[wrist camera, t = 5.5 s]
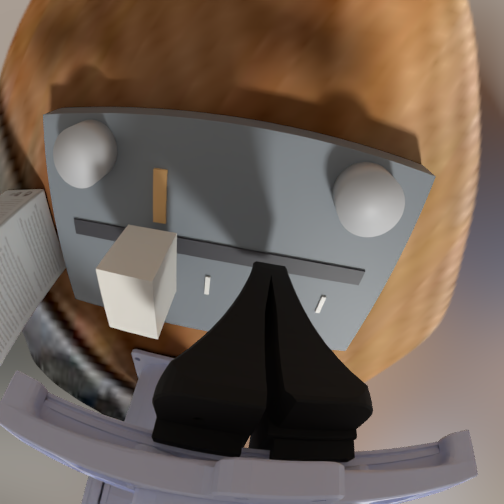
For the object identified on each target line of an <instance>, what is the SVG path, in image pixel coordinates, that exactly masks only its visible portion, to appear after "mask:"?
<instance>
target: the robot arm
mask: <svg viewBox="0 0 504 504" xmlns="http://www.w3.org/2000/svg"><path fill="white" fill-rule="evenodd" d="M131 354H132V358H133V362H134V365H135V369H136V372H137V376H138V382H137V385H136V388H135V391H134V394H133V397H132V400H131V403H130V406H129V409H128V412H127V415H126V418H125V421H124V422H123V421H120V420H117V419H114V418H111V417H108V416H105V415H102V414H100V413H97V412H94V411H91V410H89V409H86V408H84V407H81V406H79V405H76V404H74V403H71V402H69V401H67V400H64V399H62V398H60V397H58V396H55V395H53V394H51V393H49V392H48V391H47V389H46V388H45V386H44V385H43V384H42V383H40V382H39V381H38V380H36V379H34V378H32V377H30V376H28V375H26V374H24V373H22V372H20V371H18V370H16V372H15V373H14V375H13V377H12V379H11V381H10V383H9V385H8V387H7V389H6V391H5V393H4V395H3V397H2V399H1V401H0V425H1V426H2V427H4V428H5V429H6V430H7V431H9V432H10V433H11V434H13V435H14V436H15V437H17V438H18V439H19V440H21V441H22V442H24V443H25V444H27V445H29V446H30V447H32V448H34V449H36V450H38V451H40V452H41V453H43V454H45V455H47V456H49V457H50V458H52V459H54V460H56V461H58V462H60V463H62V464H64V465H66V466H68V467H71V468H72V469H75V470H77V471H79V472H81V473H83V474H86V475H88V476H89V477H88V480H87V484H86V487H85V491H84V495H83V499H82V504H398V503H403V502H407V501H411V500H415V499H418V498H422V497H425V496H429V495H432V494H436V493H439V492H442V491H444V490H447V489H449V488H452V487H454V486H456V485H459V484H461V483H463V482H466V481H468V480H470V479H472V478H474V477H476V476H477V475H478V473H477V467H476V462H475V456H474V451H473V446H472V442H471V437H470V433H469V430H464V431H460V432H455V433H452V434H449V435H447V436H445V437H443V438H442V439H440V440H439V441H438V442H433V443H427V444H421V445H415V446H408V447H402V448H393V449H383V450H372V451H358V452H354V440H355V439H356V438H357V433H356V429H357V428H358V427H359V426H361V425H362V424H363V423H364V422H365V421H366V420H367V419H368V418H369V417H370V416H371V415H372V412H373V408H372V401H371V397H370V393H369V390H368V386H367V385H366V384H365V383H364V382H362V381H361V380H360V379H359V378H358V377H357V376H356V375H354V374H353V373H352V372H351V371H350V370H349V369H348V368H347V367H346V366H345V365H344V364H343V363H342V362H341V361H340V360H339V359H338V358H337V356H336V355H335V354H334V353H333V352H332V351H331V349H330V348H329V347H328V346H327V345H326V343H325V342H324V340H323V339H322V338H321V336H320V335H319V333H318V332H317V330H316V329H315V327H314V326H313V324H312V323H311V321H310V319H309V317H308V316H307V314H306V312H305V310H304V308H303V306H302V304H301V302H300V300H299V298H298V296H297V294H296V292H295V289H294V287H293V285H292V282H291V280H290V277H289V274H288V271H287V268H286V267H285V266H281V265H275V264H270V263H264V262H258V261H256V262H254V263H253V267H252V270H251V273H250V275H249V277H248V279H247V281H246V283H245V285H244V287H243V288H242V290H241V292H240V294H239V295H238V296H237V298H236V299H235V301H234V302H233V304H232V305H231V306H230V308H229V309H228V310H227V312H226V313H225V314H224V315H223V316H222V318H221V319H220V320H219V321H218V322H217V323H216V324H215V325H214V326H213V327H212V328H211V329H210V330H209V331H208V332H207V333H206V334H205V335H204V336H203V337H202V338H201V339H199V340H198V341H197V342H196V343H195V344H193V345H192V346H191V347H190V348H189V349H187V350H186V351H184V352H183V353H182V354H180V355H179V356H177V357H176V358H171V357H167V356H162V355H158V354H154V353H150V352H146V351H142V350H139V349H133V350H132V353H131ZM250 435H251V437H250V442H249V448H243V447H244V445H245V444H246V442H247V440H248V438H249V436H250Z"/></svg>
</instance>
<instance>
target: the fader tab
mask: <svg viewBox="0 0 504 504" xmlns="http://www.w3.org/2000/svg"><path fill="white" fill-rule="evenodd" d="M176 260H177V233H173V232H168V231H162V230H156V229H151V228H145V227H139V226H134V225H128V226H127V227H126V228H125V229H124V231H123V232H122V233H121V235H120V236H119V237H118V239H117V240H116V241H115V243H114V244H113V245H112V247H111V248H110V249H109V251H108V252H107V253H106V255H105V256H104V258H103V259H102V260H101V262H100V263H99V265H98V266H97V267H96V273H97V278H98V283H99V287H100V291H101V295H102V299H103V303H104V307H105V311H106V315H107V319H108V322H109V326H110V327H112V328H116V329H119V330H123V331H126V332H130V333H134V334H138V335H142V336H146V337H150V338H154V339H158V338H159V335H160V333H161V330H162V327H163V324H164V322H165V319H166V316H167V314H168V311H169V308H170V306H171V303H172V300H173V298H174V295H175V293H176Z"/></svg>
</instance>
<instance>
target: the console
mask: <svg viewBox="0 0 504 504" xmlns="http://www.w3.org/2000/svg"><path fill="white" fill-rule="evenodd" d="M43 123H44V141H45V153H46V163H47V172H48V180H49V187H50V193H51V200H52V206H53V211H54V217H55V222H56V227H57V231H58V236H59V240H60V245H61V249H62V253H63V257H64V261H65V265H66V268H67V272H68V275H69V279H70V282H71V286H72V289H73V292H74V295H75V299H78V300H81V301H85V302H88V303H92V304H95V305H99V306H102V307H104V303H103V299H102V295H101V291H100V287H99V283H98V278H97V273H96V267H97V266H98V265H99V263H100V262H101V260H102V259H103V258H104V256H105V255H106V253H107V252H108V251H109V249H110V248H111V247H112V245H113V244H114V243H115V241H116V240H117V239H118V237H119V236H120V235H121V233H122V232H123V231H124V229H125V228H126V227H127V226H128V225H134V226H139V227H145V228H151V229H156V230H162V231H168V232H173V233H177V260H176V293H175V295H174V298H173V300H172V303H171V306H170V308H169V311H168V314H167V316H166V319H165V322H166V323H171V324H175V325H180V326H184V327H189V328H194V329H199V330H204V331H209V330H210V329H211V328H212V327H213V326H214V325H215V324H216V323H217V322H218V321H219V320H220V319H221V318H222V316H223V315H224V314H225V313H226V312H227V310H228V309H229V308H230V306H231V305H232V304H233V302H234V301H235V299H236V298H237V296H238V295H239V294H240V292H241V290H242V288H243V287H244V285H245V283H246V281H247V279H248V277H249V275H250V273H251V270H252V267H253V263H254V262H256V261H258V262H264V263H270V264H275V265H281V266H285V267H286V268H287V271H288V274H289V277H290V280H291V282H292V285H293V287H294V289H295V292H296V294H297V296H298V298H299V300H300V302H301V304H302V306H303V308H304V310H305V312H306V314H307V316H308V317H309V319H310V321H311V323H312V324H313V326H314V327H315V329H316V330H317V332H318V333H319V335H320V336H321V338H322V339H323V340H324V342H325V343H326V345H327V346H328V347H329V348H330V349H331V350H341V351H345V350H346V349H347V347H348V346H349V344H350V343H351V341H352V340H353V338H354V336H355V335H356V333H357V332H358V330H359V329H360V327H361V325H362V324H363V322H364V320H365V319H366V317H367V315H368V314H369V312H370V310H371V309H372V307H373V305H374V304H375V302H376V300H377V298H378V297H379V295H380V293H381V291H382V289H383V288H384V286H385V284H386V282H387V280H388V278H389V277H390V275H391V273H392V271H393V269H394V267H395V265H396V263H397V261H398V259H399V257H400V255H401V253H402V251H403V249H404V247H405V245H406V243H407V241H408V239H409V237H410V235H411V233H412V231H413V229H414V226H415V224H416V222H417V220H418V218H419V215H420V213H421V211H422V208H423V206H424V204H425V201H426V199H427V197H428V194H429V192H430V189H431V187H432V184H433V182H434V179H435V177H436V176H434V175H433V174H432V173H431V172H430V171H429V170H428V169H426V168H425V167H424V166H423V165H421V164H419V163H416V162H413V161H410V160H408V159H405V158H402V157H399V156H396V155H393V154H390V153H387V152H384V151H381V150H378V149H374V148H371V147H368V146H364V145H361V144H358V143H354V142H351V141H347V140H343V139H340V138H336V137H332V136H328V135H324V134H320V133H316V132H312V131H307V130H303V129H298V128H294V127H289V126H284V125H279V124H274V123H269V122H263V121H258V120H252V119H246V118H240V117H233V116H226V115H219V114H211V113H202V112H193V111H183V110H171V109H157V108H138V107H70V108H60V109H57V110H54V111H51V112H49V113H46V114H44V115H43Z"/></svg>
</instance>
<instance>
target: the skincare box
mask: <svg viewBox="0 0 504 504" xmlns="http://www.w3.org/2000/svg"><path fill="white" fill-rule="evenodd" d="M65 268H66V265H65V261H64V257H63V253H62V249H61V246H60V243H59V240H58V237H57V234H56V231H55V227H54V224H53V221H52V218H51V214H50V211H49V207H48V203H47V199H46V195H45V191H44V189H29V190H7V191H5V192H4V193H2V194H1V195H0V366H1V364H2V363H3V361H4V359H5V357H6V356H7V354H8V352H9V350H10V349H11V347H12V345H13V344H14V342H15V341H16V339H17V337H18V336H19V334H20V333H21V331H22V329H23V328H24V326H25V325H26V323H27V322H28V320H29V319H30V317H31V316H32V314H33V313H34V311H35V310H36V308H37V307H38V305H39V304H40V302H41V301H42V300H43V298H44V297H45V295H46V294H47V293H48V291H49V290H50V288H51V287H52V286H53V284H54V283H55V282H56V280H57V279H58V278H59V276H60V275H61V274H62V272H63V271H64V270H65Z"/></svg>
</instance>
